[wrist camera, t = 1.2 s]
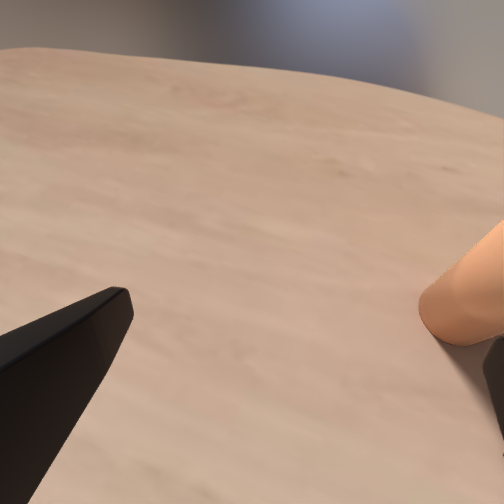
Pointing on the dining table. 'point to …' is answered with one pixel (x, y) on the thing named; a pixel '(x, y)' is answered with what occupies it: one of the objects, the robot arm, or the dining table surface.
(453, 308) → the peach bottle with cap
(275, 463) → the dining table surface
